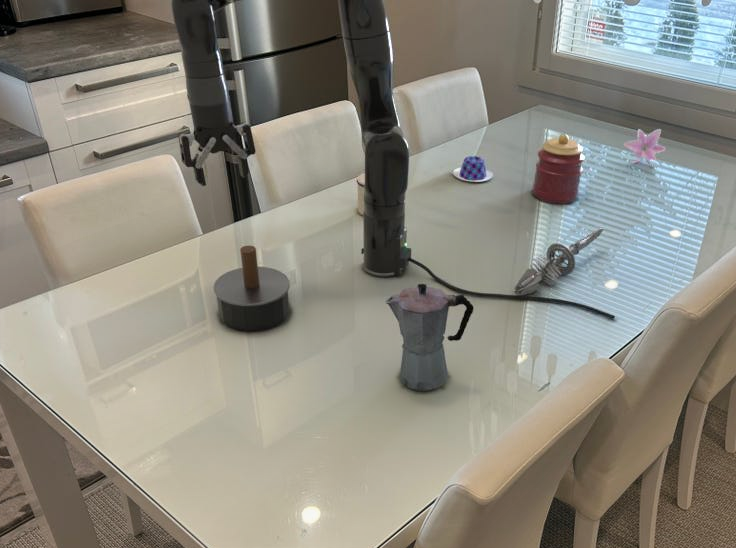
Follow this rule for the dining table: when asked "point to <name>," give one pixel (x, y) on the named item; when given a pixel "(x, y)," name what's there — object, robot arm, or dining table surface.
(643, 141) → the lily
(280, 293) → the lid
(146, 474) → the dining table surface
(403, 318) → the moka pot
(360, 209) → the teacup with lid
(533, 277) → the spaceship
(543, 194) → the kitchen canister
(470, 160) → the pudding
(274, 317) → the pan
